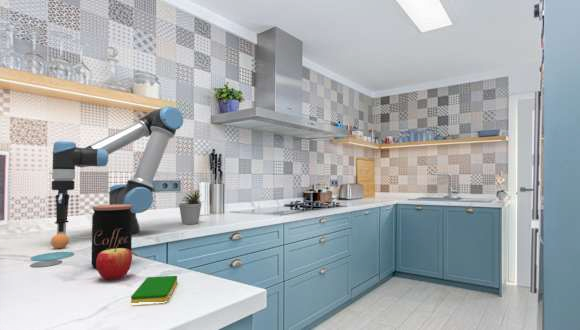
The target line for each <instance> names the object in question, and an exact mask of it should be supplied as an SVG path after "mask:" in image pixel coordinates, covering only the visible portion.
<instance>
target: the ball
mask: <svg viewBox="0 0 580 330" xmlns="http://www.w3.org/2000/svg"><path fill="white" fill-rule="evenodd" d="M50 244H51V246H52V248H54V249H59V250H60V249H64V248H65V247H66V246H67V245H68V244H69V237H68V235H67V234H66V235H65V234H57V233H56V235H53V237H52V238H51V240H50Z"/></svg>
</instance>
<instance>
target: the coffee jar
mask: <svg viewBox="0 0 580 330" xmlns="http://www.w3.org/2000/svg"><path fill="white" fill-rule="evenodd" d="M131 208H132V205H128V204H115V205H109V204H99V205H94V206H92V210H93V212H94V213H92V216H91V224H92V225H91V266H92V267H93V268H94V269H96V270H97V266H96V260H97V256H98V254H99V253H100V252H102V251H105V250H109V249H116V246H117V244H118V243H119V242H120V240H121V239H122V241H121V242H120V243H119V244H118V246H117V248H126V249H129V250H130V251H131V252H132V240H133V239H132V236H133V235H132V234H133V233H132V212H131V211H130V209H131Z"/></svg>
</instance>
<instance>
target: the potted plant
mask: <svg viewBox="0 0 580 330" xmlns="http://www.w3.org/2000/svg"><path fill="white" fill-rule="evenodd" d="M185 194H186V195H187V196H186V195H184V196H183V199H182V202H183V201H184V202H183V203H179V204H178V207H179V210H180V211H179V212H180V218H181V219H180V220H181V223H182V225H184V224H185V225H187V226H190V225H192V224H193V225H197V224H199V221H200V217H201V216H200V214H201V210H202V209H201V208H202V203H203V202H205V200H203V201H200V200H201V199H199V198H200V196H201V195H200V189H198V191H194V192H190V194H191V195H190V194H188V193H186V192H185Z"/></svg>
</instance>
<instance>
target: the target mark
mask: <svg viewBox="0 0 580 330" xmlns="http://www.w3.org/2000/svg"><path fill="white" fill-rule="evenodd" d="M74 255H75V252H73V251H57V252H48V253H41V254H37V255H33V256H32V257H30V260H31V261H34V262H35V261H37V262H41V261H48V260H63V259H66V258H69V257H72V256H74Z"/></svg>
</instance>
